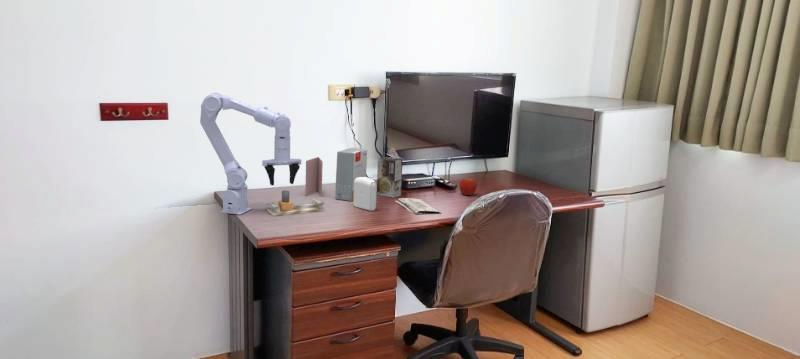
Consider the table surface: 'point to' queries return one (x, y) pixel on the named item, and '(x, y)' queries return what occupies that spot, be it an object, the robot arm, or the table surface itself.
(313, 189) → the greeting card
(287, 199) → the carriage
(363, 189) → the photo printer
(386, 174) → the coffee box
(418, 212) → the newspaper
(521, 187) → the table surface
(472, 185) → the apple
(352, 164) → the hard drive box
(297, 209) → the rail
